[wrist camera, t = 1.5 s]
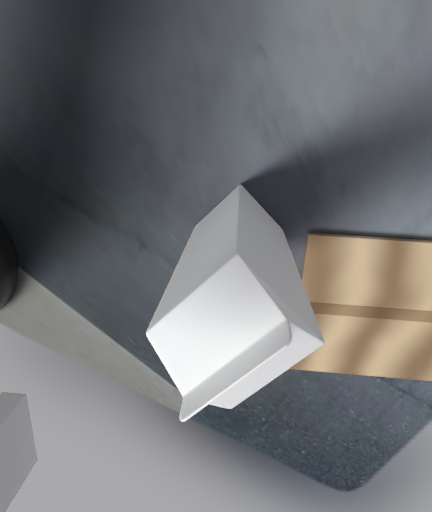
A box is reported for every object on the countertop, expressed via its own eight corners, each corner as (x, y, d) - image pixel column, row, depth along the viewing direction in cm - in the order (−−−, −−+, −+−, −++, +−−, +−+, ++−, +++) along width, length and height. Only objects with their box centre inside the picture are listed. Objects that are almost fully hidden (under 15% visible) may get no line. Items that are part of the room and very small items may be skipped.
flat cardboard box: (288, 364, 39) (289, 369, 38) (307, 232, 34) (308, 234, 33) (429, 376, 38) (433, 381, 38) (471, 243, 33) (476, 246, 32)
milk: (194, 226, 34) (118, 377, 14) (241, 182, 33) (233, 281, 12) (237, 269, 36) (226, 468, 15) (284, 229, 34) (345, 393, 13)
